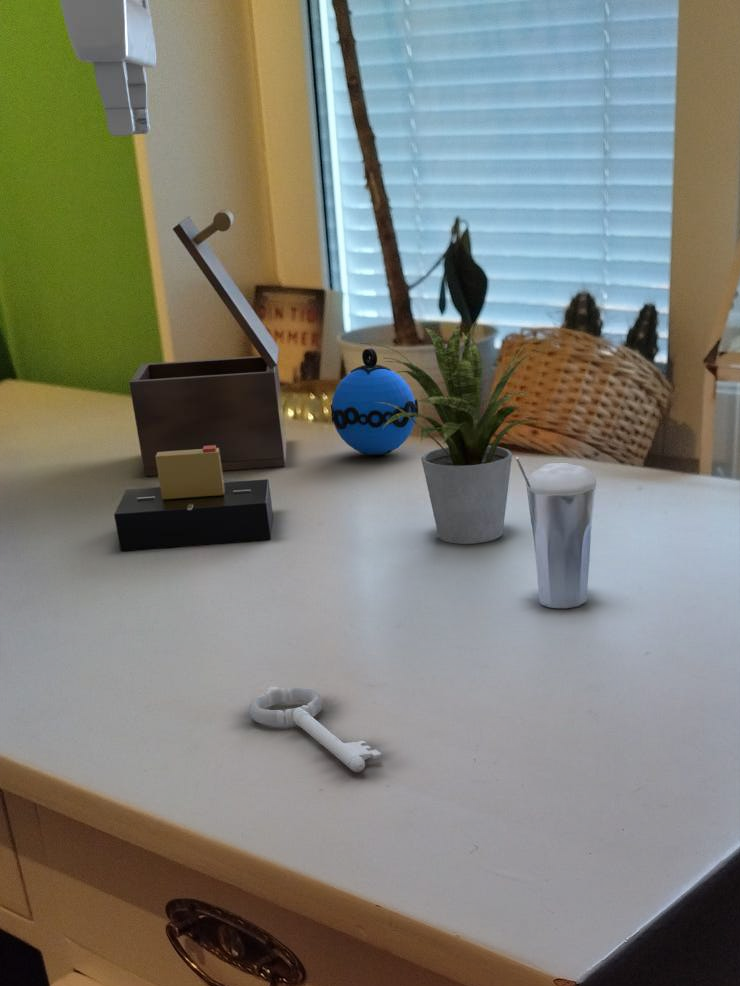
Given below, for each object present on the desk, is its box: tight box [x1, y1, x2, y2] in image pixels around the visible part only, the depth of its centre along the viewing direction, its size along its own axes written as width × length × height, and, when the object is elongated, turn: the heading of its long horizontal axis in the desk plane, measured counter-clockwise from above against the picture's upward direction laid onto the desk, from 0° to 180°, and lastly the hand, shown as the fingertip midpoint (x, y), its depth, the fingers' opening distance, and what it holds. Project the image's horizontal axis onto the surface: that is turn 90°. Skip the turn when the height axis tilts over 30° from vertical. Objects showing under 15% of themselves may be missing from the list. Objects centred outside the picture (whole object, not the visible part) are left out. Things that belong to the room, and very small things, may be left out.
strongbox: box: [128, 355, 288, 477], centre depth 131 cm, size 14×11×9 cm
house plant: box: [360, 318, 546, 545], centre depth 102 cm, size 14×14×16 cm
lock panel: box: [113, 478, 274, 552], centre depth 109 cm, size 12×9×3 cm
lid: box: [172, 208, 280, 369], centre depth 125 cm, size 14×11×5 cm
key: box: [248, 686, 382, 773], centre depth 72 cm, size 12×1×4 cm
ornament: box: [330, 347, 419, 457], centre depth 129 cm, size 9×9×10 cm
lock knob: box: [156, 445, 225, 500], centre depth 107 cm, size 5×2×4 cm, turn 96°
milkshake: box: [515, 457, 597, 610], centre depth 87 cm, size 4×5×10 cm
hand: (131, 135), depth 102 cm, fingers open, 8 cm apart
